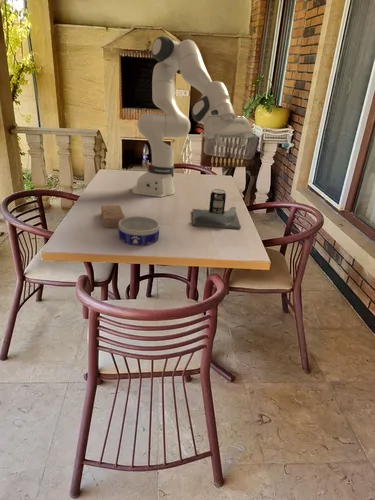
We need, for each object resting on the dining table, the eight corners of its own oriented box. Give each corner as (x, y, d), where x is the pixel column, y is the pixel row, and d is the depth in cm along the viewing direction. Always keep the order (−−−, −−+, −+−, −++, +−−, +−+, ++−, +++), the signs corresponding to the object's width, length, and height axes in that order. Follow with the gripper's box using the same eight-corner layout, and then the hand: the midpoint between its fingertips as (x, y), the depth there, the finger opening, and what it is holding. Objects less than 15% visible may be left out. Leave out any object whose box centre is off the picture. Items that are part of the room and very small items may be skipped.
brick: (100, 214, 164) (100, 203, 162) (120, 213, 167) (120, 203, 165) (104, 229, 150) (103, 218, 148) (125, 228, 152) (125, 217, 150)
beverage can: (215, 213, 171) (217, 187, 166) (226, 217, 167) (229, 191, 162) (205, 216, 166) (207, 190, 161) (216, 221, 162) (219, 194, 157)
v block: (192, 211, 175) (193, 200, 173) (235, 214, 176) (236, 203, 173) (193, 226, 159) (194, 214, 156) (240, 229, 159) (242, 217, 157)
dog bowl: (160, 231, 152) (161, 217, 149) (157, 247, 138) (157, 232, 135) (122, 228, 151) (122, 214, 149) (115, 244, 138) (115, 229, 135)
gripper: (243, 121, 162) (251, 149, 158) (199, 121, 154) (207, 151, 151) (249, 111, 156) (259, 140, 152) (204, 111, 149) (213, 142, 145)
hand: (233, 145), depth 152 cm, fingers open, 8 cm apart
